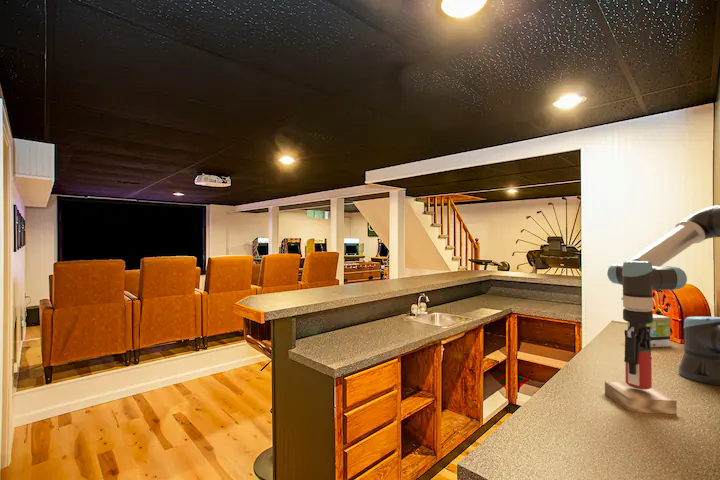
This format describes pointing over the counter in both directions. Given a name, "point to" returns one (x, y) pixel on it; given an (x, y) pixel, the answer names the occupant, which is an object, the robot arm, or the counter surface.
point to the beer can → (642, 370)
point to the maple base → (640, 398)
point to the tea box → (659, 331)
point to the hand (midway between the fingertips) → (638, 381)
